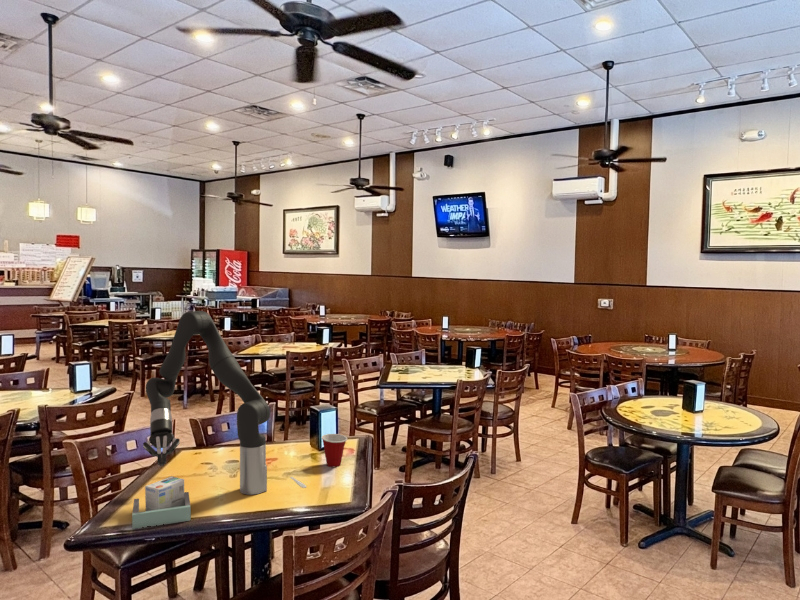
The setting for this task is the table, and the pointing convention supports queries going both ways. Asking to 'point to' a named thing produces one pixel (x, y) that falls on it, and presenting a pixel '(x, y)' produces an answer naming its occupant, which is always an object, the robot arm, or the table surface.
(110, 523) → the table surface
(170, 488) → the light bulb box
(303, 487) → the butter knife
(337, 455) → the plastic cup
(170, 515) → the cradle
